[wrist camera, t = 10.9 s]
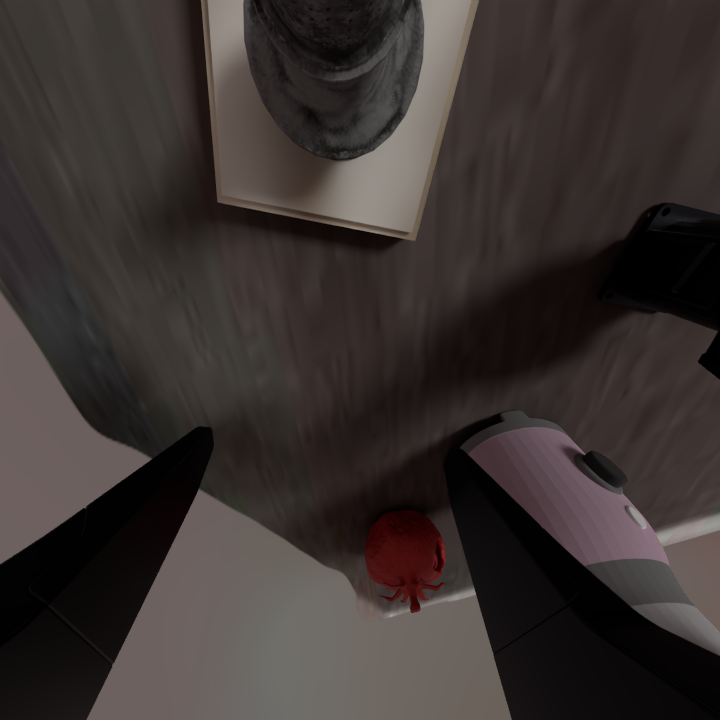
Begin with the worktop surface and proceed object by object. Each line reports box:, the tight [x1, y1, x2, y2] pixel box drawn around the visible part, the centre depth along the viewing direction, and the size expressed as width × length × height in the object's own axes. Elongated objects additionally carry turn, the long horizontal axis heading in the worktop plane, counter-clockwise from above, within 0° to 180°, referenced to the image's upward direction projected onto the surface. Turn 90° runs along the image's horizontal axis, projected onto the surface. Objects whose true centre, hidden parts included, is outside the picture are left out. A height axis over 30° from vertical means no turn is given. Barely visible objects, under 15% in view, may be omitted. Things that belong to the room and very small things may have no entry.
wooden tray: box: [201, 0, 479, 241], centre depth 13 cm, size 11×11×2 cm
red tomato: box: [365, 510, 446, 613], centre depth 32 cm, size 10×10×9 cm
